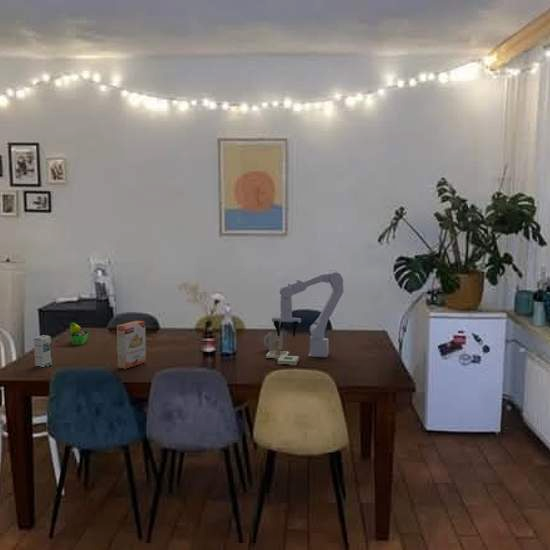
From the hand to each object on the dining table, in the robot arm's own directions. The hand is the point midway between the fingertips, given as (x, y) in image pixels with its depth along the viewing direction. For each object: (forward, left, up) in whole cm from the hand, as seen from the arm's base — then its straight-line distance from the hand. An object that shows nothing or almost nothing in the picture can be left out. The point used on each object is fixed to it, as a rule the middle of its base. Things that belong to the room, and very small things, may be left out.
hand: (286, 336), depth 346 cm
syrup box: (+112, +38, -11) cm, 119 cm away
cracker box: (+70, +30, -11) cm, 77 cm away
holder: (-3, +11, -10) cm, 16 cm away
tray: (+4, +2, -10) cm, 11 cm away
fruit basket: (+117, -8, -11) cm, 118 cm away
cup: (+9, -11, -11) cm, 17 cm away
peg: (+4, +3, -10) cm, 11 cm away
